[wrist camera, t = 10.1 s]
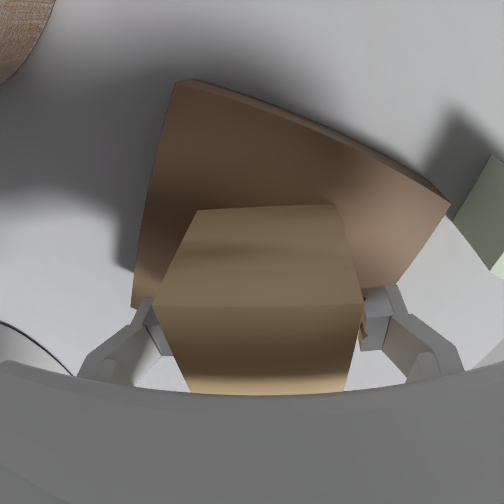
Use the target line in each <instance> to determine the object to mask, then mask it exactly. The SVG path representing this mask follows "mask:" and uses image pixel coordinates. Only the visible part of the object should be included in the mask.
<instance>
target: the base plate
mask: <svg viewBox="0 0 504 504" xmlns="http://www.w3.org/2000/svg"><path fill="white" fill-rule="evenodd" d="M334 204H335V206H336V209H337V212H338V215H339V218H340V221H341V224H342V227H343V230H344V233H345V237H346V240H347V243H348V247H349V250H350V253H351V257H352V260H353V264H354V267H355V271H356V274H357V278H358V281H359V285H360V288H361V287H372V286H383V285H390V284H396V283H397V282H398V280H399V279H400V278H401V276H402V275H403V274H404V272H405V271H406V270H407V268H408V267H409V266H410V264H411V263H412V262H413V260H414V259H415V257H416V256H417V255H418V253H419V252H420V250H421V249H422V248H423V246H424V245H425V243H426V242H427V240H428V239H429V238H430V236H431V235H432V233H433V232H434V230H435V229H436V227H437V226H438V224H439V223H440V221H441V220H442V218H443V216H444V215H445V213H446V212H447V210H448V209H449V207H450V205H451V203H450V202H449V201H448V200H447V199H446V198H445V197H444V195H443V194H442V193H441V192H440V191H439V190H438V189H437V188H436V187H435V186H434V185H433V184H432V183H431V182H430V181H428V180H426V179H425V178H423V177H421V176H420V175H418V174H416V173H415V172H413V171H411V170H409V169H408V168H406V167H404V166H403V165H401V164H399V163H397V162H395V161H394V160H392V159H390V158H388V157H386V156H384V155H383V154H381V153H379V152H377V151H375V150H373V149H371V148H369V147H367V146H365V145H363V144H361V143H359V142H357V141H355V140H353V139H351V138H349V137H347V136H345V135H343V134H341V133H339V132H337V131H334V130H332V129H330V128H328V127H326V126H323V125H321V124H319V123H317V122H314V121H312V120H310V119H307V118H305V117H303V116H300V115H298V114H295V113H293V112H290V111H288V110H285V109H283V108H280V107H277V106H275V105H272V104H270V103H267V102H264V101H261V100H259V99H256V98H253V97H250V96H247V95H244V94H241V93H238V92H235V91H232V90H229V89H226V88H223V87H219V86H216V85H213V84H209V83H206V82H203V81H199V80H195V79H191V80H186V81H181V82H177V83H175V86H174V89H173V92H172V95H171V99H170V102H169V106H168V109H167V113H166V117H165V120H164V124H163V128H162V132H161V135H160V139H159V143H158V147H157V152H156V156H155V160H154V165H153V169H152V174H151V178H150V183H149V188H148V193H147V198H146V203H145V208H144V214H143V219H142V225H141V231H140V237H139V244H138V250H137V257H136V264H135V272H134V280H133V288H132V297H131V307H132V308H134V309H137V310H138V308H139V306H140V304H141V302H142V300H143V298H145V297H155V296H156V294H157V292H158V289H159V287H160V285H161V283H162V281H163V279H164V277H165V275H166V272H167V270H168V268H169V266H170V264H171V262H172V260H173V258H174V256H175V254H176V252H177V250H178V248H179V246H180V244H181V242H182V240H183V238H184V236H185V234H186V232H187V230H188V228H189V226H190V224H191V222H192V220H193V218H194V216H195V214H196V212H197V210H210V209H227V208H246V207H268V206H294V205H334Z"/></svg>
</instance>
